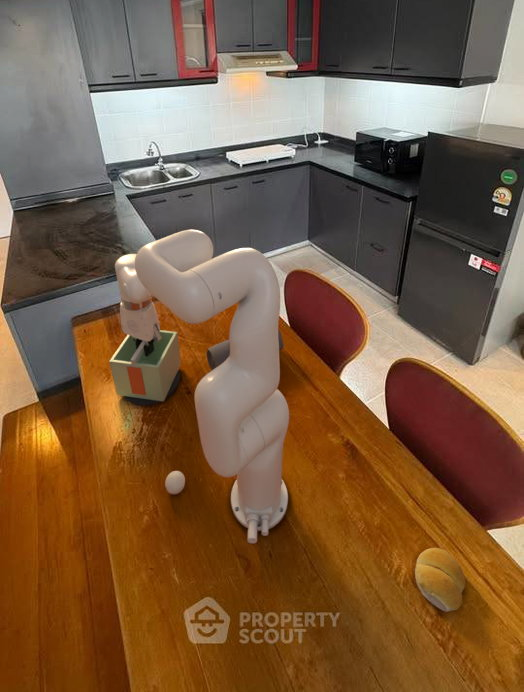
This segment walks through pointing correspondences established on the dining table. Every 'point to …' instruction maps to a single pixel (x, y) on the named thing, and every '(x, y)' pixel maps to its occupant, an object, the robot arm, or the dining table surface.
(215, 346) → the bluetooth speaker
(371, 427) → the dining table surface
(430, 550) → the bread roll
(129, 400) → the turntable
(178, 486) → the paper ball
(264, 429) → the robot arm
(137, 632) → the dining table surface
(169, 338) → the bin
